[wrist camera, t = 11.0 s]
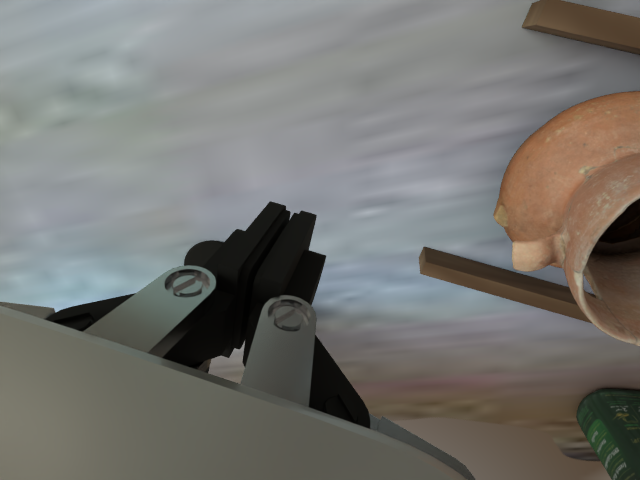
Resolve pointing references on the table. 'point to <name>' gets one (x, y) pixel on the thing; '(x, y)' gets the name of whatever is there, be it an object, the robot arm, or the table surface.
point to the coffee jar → (613, 430)
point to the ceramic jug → (582, 207)
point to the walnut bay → (504, 283)
